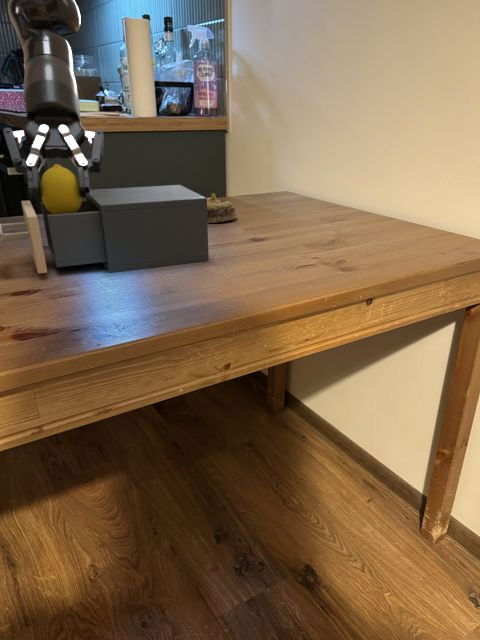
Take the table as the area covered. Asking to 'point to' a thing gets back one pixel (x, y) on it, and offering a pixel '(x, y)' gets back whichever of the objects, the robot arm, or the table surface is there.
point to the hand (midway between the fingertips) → (60, 193)
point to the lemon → (60, 191)
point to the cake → (219, 210)
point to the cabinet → (152, 226)
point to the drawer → (63, 235)
